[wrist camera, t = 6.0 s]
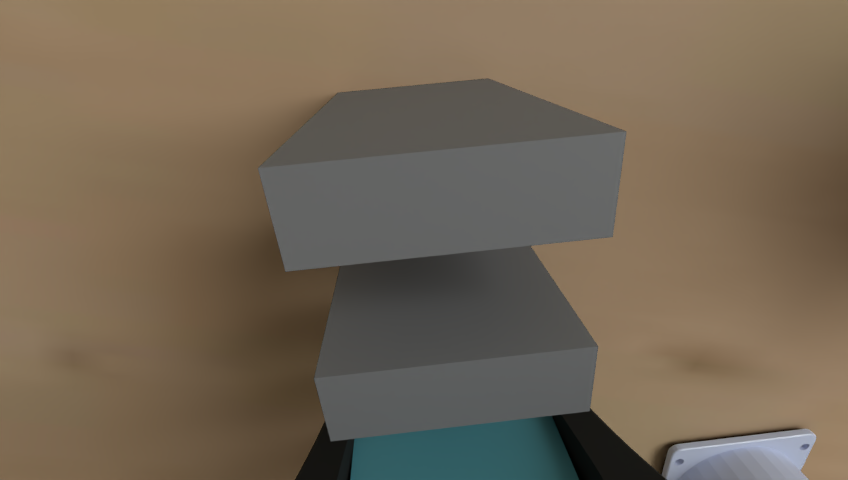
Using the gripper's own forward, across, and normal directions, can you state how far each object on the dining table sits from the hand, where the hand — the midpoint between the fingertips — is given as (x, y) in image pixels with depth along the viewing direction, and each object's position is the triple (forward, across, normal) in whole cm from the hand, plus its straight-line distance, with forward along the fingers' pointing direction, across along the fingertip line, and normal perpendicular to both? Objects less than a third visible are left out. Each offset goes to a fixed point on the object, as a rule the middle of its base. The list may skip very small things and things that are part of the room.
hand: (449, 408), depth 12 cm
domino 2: (+6, 0, -4) cm, 7 cm away
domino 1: (+6, 0, -8) cm, 10 cm away
